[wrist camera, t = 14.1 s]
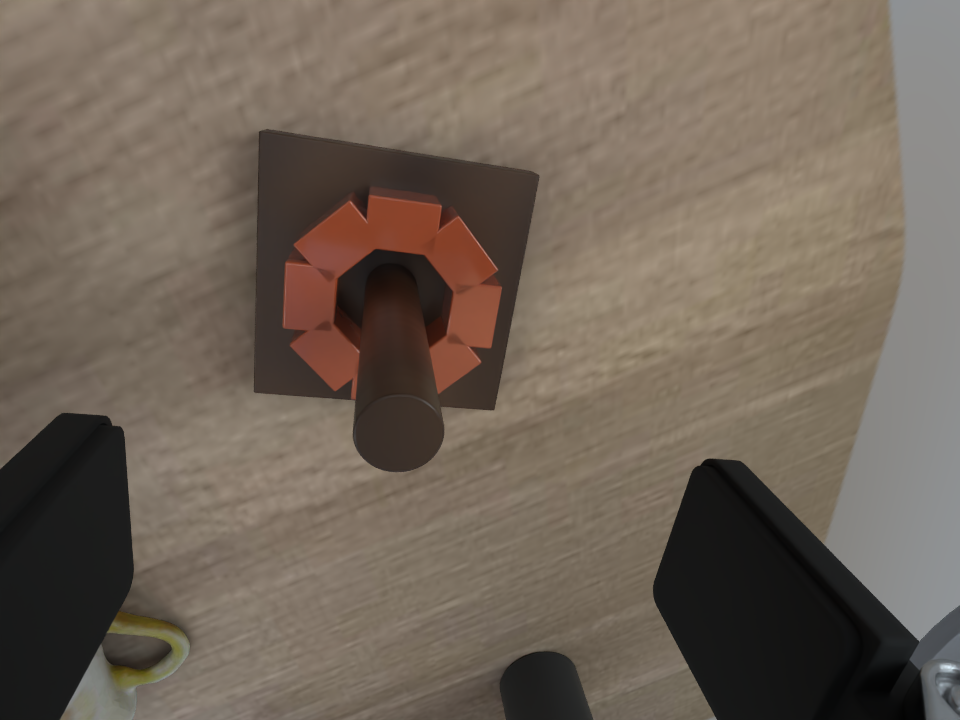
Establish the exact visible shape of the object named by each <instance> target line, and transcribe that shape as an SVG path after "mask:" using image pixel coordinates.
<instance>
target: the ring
mask: <svg viewBox="0 0 960 720" xmlns="http://www.w3.org/2000/svg"><path fill="white" fill-rule="evenodd" d="M441 210H442V205H441V204H440V202H439V200H438V198H437V196H435V195H429V194H422V193H415V192H408V191H401V190H395V189H388V188H381V187H374V186H370V188H369V196H368V207H367V208H366V206H365V205H364V204H363V203H362V201H361V200H360V199H359V198H358V196H357V195H356V194H355V193H354V192H353V191H351V192H350V193H349V194H347V195H346V196H345V197H344V198H342V199H341V200H340V201H339V202H337V203H336V204H335V205H334V206H332V207H331V208H330V209H329V210H327V211H326V212H325V213H324V214H322V215H321V216H320V217H319V218H317V219H316V220H315V221H313V222H312V223H311V224H310V225H308V226H307V227H306V228H305V229H303V230H302V231H301V233H300V235H299V236H298V238H297V240H296V241H295V243H294V247H295V248H293V250H292V252H291V253H290V255H289V257H288V258H287V260H286V262H285V266H284V292H283V318H282V326H283V328H285V329H294V330H295V331H294V334H293V337H292V339H291V342H290V347H291V348H292V349H293V350H294V351H295V352H296V353H297V354H298V355H299V356H300V357H301V358H302V359H303V360H304V361H305V362H306V363H307V364H308V365H309V366H310V367H311V368H312V369H313V370H314V371H315V372H316V373H317V374H318V375H319V376H320V377H321V378H322V379H323V380H324V381H325V382H326V383H327V384H328V385H329V386H330V387H331V388H332V389H333V390H334V391H337V390H338V389H339V388H341V387H342V386H343V385H345V384H346V383H348V382H349V381H350V380H352V387H351V399H356V389H357V377H358V365H359V354H360V342H361V329H360V328H359V327H358V326H357V325H356V324H355V323H354V322H353V321H352V319H351V318H350V317H349V316H348V315H347V314H346V313H345V312H344V311H343V309H342V308H341V307H340V306H339V305H338V304H339V291H340V277H341V276H342V275H343V274H344V273H346V272H347V271H348V270H349V269H351V268H352V267H353V266H355V265H356V264H357V263H358V262H360V261H361V260H362V259H364V258H365V257H366V256H367V255H369V254H370V253H371V252H373V251H374V250H375V249H378V250H386V251H394V252H402V253H410V254H418V255H424V256H425V257H426V258H427V260H428V261H429V262H430V264H431V265H432V266H433V267H434V269H435V270H436V271H437V272H438V274H439V275H440V276H441V277H442V279H443V280H444V281H445V283H446V284H445V291H444V298H443V305H442V312H441V316H440V317H439V318H437V319H436V320H435V321H433V322H432V323H431V324H429V325H428V326H426V327H425V329H426V334H427V339H428V345H429V350H430V355H431V360H432V366H433V371H434V376H435V381H436V386H437V392H438V394H439V393H441V392H442V391H443V390H445V389H446V388H447V387H449V386H450V385H452V384H453V383H454V382H456V381H457V380H459V379H460V378H461V377H463V376H464V375H465V374H467V373H468V372H470V371H471V370H472V369H474V368H475V367H476V366H478V365H479V364H481V359H480V356H479V354H478V351H477V349H476V347H479V348H491V347H492V341H493V336H494V330H495V325H496V319H497V314H498V308H499V303H500V297H501V292H502V286H501V285H500V283H499V282H498V280H497V279H496V277H495V275H494V273H495V272H497V271H498V268H497V267H496V265H495V264H494V262H493V261H492V259H491V258H490V256H489V255H488V254H487V252H486V251H485V249H484V248H483V247H482V245H481V244H480V243H479V241H478V240H477V239H476V237H475V236H474V234H473V233H472V232H471V230H470V229H469V228H468V226H467V225H466V223H465V222H464V221H463V219H462V218H461V217H460V215H459V214H458V213H457V211H456V210H455V208H454V207H453V206H452V205H451V206H449V207H448V208H447V209H445V210H444V211H443V212H441Z"/></svg>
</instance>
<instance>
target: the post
mask: <svg viewBox="0 0 960 720" xmlns="http://www.w3.org/2000/svg"><path fill="white" fill-rule="evenodd" d="M538 181H539V175H538V174H535V173H533V172H531V171H526V170H520V169H514V168H508V167H501V166H495V165H489V164H483V163H476V162H470V161H464V160H457V159H451V158H445V157H439V156H432V155H426V154H420V153H414V152H407V151H401V150H395V149H388V148H382V147H376V146H370V145H363V144H357V143H351V142H345V141H338V140H332V139H326V138H319V137H313V136H307V135H301V134H294V133H288V132H282V131H276V130H269V129H266V130H262V131H260V132H259V166H258V216H257V266H256V316H255V365H254V392H255V393H266V394H279V395H293V396H306V397H320V398H333V399H347V400H355V412H354V424H353V440H354V444H355V447H356V449H357V451H358V452H359V454H360V455H361V456H362V457H363V459H364V460H366V461H367V462H368V463H369V464H371V465H372V466H374V467H376V468H378V469H381V470H384V471H389V472H405V471H410V470H413V469H416V468H418V467H421V466H422V465H424V464H426V463H427V462H428V461H430V460H431V459H432V458H433V457H434V456H435V454H436V453H437V452H438V450H439V449H440V447H441V444H442V442H443V438H444V423H443V418H442V413H441V407H455V408H468V409H482V410H494V409H495V404H496V399H497V394H498V389H499V384H500V378H501V373H502V368H503V363H504V358H505V353H506V347H507V342H508V337H509V332H510V327H511V321H512V316H513V311H514V306H515V301H516V295H517V290H518V285H519V280H520V275H521V269H522V264H523V259H524V254H525V249H526V243H527V238H528V233H529V228H530V223H531V218H532V212H533V207H534V202H535V197H536V192H537V186H538ZM370 186H374V187H381V188H388V189H395V190H401V191H408V192H415V193H422V194H429V195H435V196H437V198H438V200H439V202H440V204H441V205H442V210H441V212H443V211H444V210H445V209H447V208H448V207H449V206H451V205H452V206H453V207H454V208H455V210H456V211H457V213H458V214H459V215H460V217H461V218H462V219H463V221H464V222H465V223H466V225H467V226H468V228H469V229H470V230H471V232H472V233H473V234H474V236H475V237H476V239H477V240H478V241H479V243H480V244H481V245H482V247H483V248H484V249H485V251H486V252H487V254H488V255H489V256H490V258H491V259H492V261H493V262H494V264H495V265H496V267H497V268H498V271H497V272H495V273H494V275H495V277H496V279H497V280H498V282H499V283H500V285H501V286H502V292H501V297H500V303H499V308H498V314H497V319H496V325H495V330H494V336H493V341H492V347H491V348H479V347H476V349H477V351H478V354H479V356H480V359H481V364H479V365H478V366H476V367H475V368H474V369H472V370H471V371H470V372H468V373H467V374H465V375H464V376H463V377H461V378H460V379H459V380H457V381H456V382H454V383H453V384H452V385H450V386H449V387H447V388H446V389H445V390H443V391H442V392H441V393H439V394H438V392H437V386H436V381H435V376H434V371H433V366H432V360H431V355H430V350H429V345H428V339H427V334H426V329H425V327H426V326H428V325H429V324H431V323H432V322H433V321H435V320H436V319H437V318H439V317H440V316H441V312H442V305H443V298H444V291H445V284H446V283H445V281H444V280H443V279H442V277H441V276H440V275H439V274H438V272H437V271H436V270H435V269H434V267H433V266H432V265H431V264H430V262H429V261H428V260H427V258H426V257H425V256H424V255H418V254H410V253H402V252H394V251H386V250H378V249H375V250H374V251H373V252H371V253H370V254H369V255H367V256H366V257H365V258H364V259H362V260H361V261H360V262H358V263H357V264H356V265H355V266H353V267H352V268H351V269H349V270H348V271H347V272H346V273H344V274H343V275H342V276H341V277H340V291H339V304H338V305H339V306H340V307H341V308H342V309H343V311H344V312H345V313H346V314H347V315H348V316H349V317H350V318H351V319H352V321H353V322H354V323H355V324H356V325H357V326H358V327H359V328H360V329H361V342H360V354H359V365H358V377H357V389H356V399H351V387H352V380H350V381H349V382H348V383H346V384H345V385H343V386H342V387H341V388H339V389H338V390H337V391H334V390H333V389H332V388H331V387H330V386H329V385H328V384H327V383H326V382H325V381H324V380H323V379H322V378H321V377H320V376H319V375H318V374H317V373H316V372H315V371H314V370H313V369H312V368H311V367H310V366H309V365H308V364H307V363H306V362H305V361H304V360H303V359H302V358H301V357H300V356H299V355H298V354H297V353H296V352H295V351H294V350H293V349H292V348H291V347H290V342H291V339H292V337H293V334H294V331H295V330H294V329H285V328H283V326H282V318H283V292H284V266H285V262H286V260H287V258H288V257H289V255H290V253H291V252H292V250H293V248H295V247H294V243H295V241H296V240H297V238H298V236H299V235H300V233H301V231H302V230H303V229H305V228H306V227H307V226H308V225H310V224H311V223H312V222H313V221H315V220H316V219H317V218H319V217H320V216H321V215H322V214H324V213H325V212H326V211H327V210H329V209H330V208H331V207H332V206H334V205H335V204H336V203H337V202H339V201H340V200H341V199H342V198H344V197H345V196H346V195H347V194H349V193H350V192H351V191H353V192H354V193H355V194H356V195H357V196H358V198H359V199H360V200H361V201H362V203H363V204H364V205H365V206H366V208H367V207H368V196H369V188H370ZM440 406H441V407H440Z"/></svg>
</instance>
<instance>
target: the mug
mask: <svg viewBox="0 0 960 720" xmlns="http://www.w3.org/2000/svg"><path fill="white" fill-rule="evenodd" d="M107 633H117V634H124V635H137V636H149V637H155V638H159V639H162V640H164V641H166V642H168V643H169V644H170V645H171V648H172V649H171V651H170V652H169V653H168V654H167V655H166V656H165V657H164V658H163V659H161V660H160V661H159V662H158V663H157V664H155V665H153V666H151V667H149V668H146V669H141V670H137V669H133V668H130V667H127V666H121V665H118V666H114V665H112V664H110V663H109V662H108V661H107V659H106V657H105V656H104V652H103V648H102V644H101V645H100V647H99V648H98V650H97V652H96V654H95V656H94V658H93V660H92V661H91V663H90V665H89V667H88V669H87V671H86V673H85V674H84V676H83V678H82V680H81V682H80V684H79V686H78V687H77V689H76V691H75V693H74V695H73V697H72V699H71V700H70V702H69V704H68V706H67V708H66V710H65V712H64V713H63V715H62V717H61V719H60V720H132V719H133V717H134V714H135V710H136V703H137V691H136V687H137V686H140V685H144V684H149V683H155V682H159V681H161V680H163V679H164V678H166V677H168V676H169V675H171V674H172V673H174V672H175V671H176V670H177V669H178V668H179V667H180V665H181V664H182V663H183V662H184V660H185V659H186V658H187V656H188V653H189V649H190V643H189V641H188V639H187V637H186V635H185V634H184V632H183V631H182V630H181V629H180V628H178V627H177V626H175V625H173V624H171V623H169V622H166V621H163V620H158V619H154V618H149V617H143V616H137V615H132V614H129V613H125V612H121V611H118V613H117V615H116V617H115V619H114V621H113V622H112V624H111V626H110V628H109V630H108V632H107Z"/></svg>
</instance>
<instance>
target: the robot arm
mask: <svg viewBox="0 0 960 720" xmlns="http://www.w3.org/2000/svg"><path fill="white" fill-rule="evenodd" d="M133 572H134V565H133V551H132V536H131V522H130V508H129V494H128V479H127V465H126V451H125V437H124V431H123V429H122V428H121V427H120V426H112V423H111V421H110V418H108V417H107V416H102V415H88V414H73V413H62V414H60V415H59V416H57V417H56V418H55V419H54V420H53V421H52V422H51V423H50V424H48V425H47V426H46V427H45V428H44V429H43V430H42V431H41V432H40V433H39V434H38V435H37V436H36V437H35V438H33V439H32V440H31V441H30V442H29V443H28V444H27V445H26V446H25V447H24V448H23V449H22V450H21V451H20V452H18V453H17V454H16V455H15V456H14V457H13V458H12V459H11V460H10V461H9V462H8V463H7V464H6V465H4V466H3V467H2V468H1V469H0V720H60V719H61V717H62V715H63V713H64V712H65V710H66V708H67V706H68V704H69V702H70V700H71V699H72V697H73V695H74V693H75V691H76V689H77V687H78V686H79V684H80V682H81V680H82V678H83V676H84V674H85V673H86V671H87V669H88V667H89V665H90V663H91V661H92V660H93V658H94V656H95V654H96V652H97V650H98V648H99V647H100V645H101V643H102V641H103V639H104V637H105V635H106V634H107V632H108V630H109V628H110V626H111V624H112V622H113V621H114V619H115V617H116V615H117V613H118V611H119V609H120V608H121V606H122V604H123V602H124V600H125V598H126V596H127V594H128V592H129V590H130V587H131V584H132V579H133ZM653 596H654V600H655V603H656V605H657V607H658V609H659V611H660V613H661V615H662V617H663V619H664V621H665V623H666V624H667V626H668V628H669V630H670V632H671V634H672V636H673V638H674V639H675V641H676V643H677V645H678V647H679V649H680V651H681V653H682V655H683V656H684V658H685V660H686V662H687V664H688V666H689V668H690V670H691V672H692V673H693V675H694V677H695V679H696V681H697V683H698V685H699V687H700V688H701V690H702V692H703V694H704V696H705V698H706V700H707V702H708V704H709V705H710V707H711V709H712V711H713V713H714V715H715V717H716V719H717V720H960V662H958V661H953V660H947V659H934V660H930V661H928V662H927V663H925V664H924V665H923V666H922V668H921V669H920V670H919V669H918V668H917V667H916V666H915V665H914V664H913V663H912V662H911V661H910V660H909V659H910V658H911V656H912V654H913V653H914V651H915V649H916V647H917V646H918V644H919V641H918V640H917V639H916V638H915V637H914V636H913V635H912V634H911V633H910V632H909V631H908V630H907V629H906V628H905V627H904V626H903V625H902V624H901V623H900V622H899V621H898V620H897V619H896V617H894V615H893V614H892V613H890V611H888V609H887V608H886V607H885V606H884V605H883V604H882V603H881V602H880V601H879V600H878V599H877V598H876V597H875V596H874V595H873V594H872V593H871V592H870V591H869V590H868V589H867V588H866V587H865V586H864V585H863V584H862V583H861V582H860V581H859V580H858V579H857V578H856V577H855V576H854V575H853V574H852V573H851V572H850V571H849V570H848V569H847V568H846V567H845V566H844V565H843V564H842V563H841V562H840V561H839V560H838V559H837V558H836V557H835V556H834V555H833V554H832V552H830V551H829V549H827V547H826V546H825V545H824V544H823V543H822V542H821V541H820V540H819V539H818V538H817V537H816V536H815V535H814V534H813V533H812V532H811V531H810V530H809V529H808V528H807V527H806V526H805V525H804V524H803V523H802V522H801V521H800V520H799V519H798V518H797V517H796V516H795V515H794V514H793V513H792V512H791V511H790V510H789V509H788V508H787V507H786V506H785V505H784V504H783V503H782V502H781V501H780V500H779V499H778V498H777V497H776V496H775V495H774V494H773V493H772V492H771V491H770V490H769V489H768V487H767V486H766V485H765V484H764V483H763V482H762V481H761V480H760V479H759V478H758V477H757V476H756V475H755V474H754V473H753V472H752V471H751V470H750V469H749V468H748V467H747V466H746V465H745V464H744V463H742V462H741V461H736V460H723V459H706V460H705V461H704V462H703V463H702V464H701V466H697V467H695V468H694V469H693V471H692V473H691V476H690V479H689V482H688V484H687V487H686V490H685V493H684V496H683V499H682V502H681V505H680V508H679V511H678V514H677V517H676V519H675V522H674V525H673V528H672V531H671V534H670V537H669V540H668V543H667V546H666V549H665V551H664V554H663V557H662V560H661V563H660V566H659V569H658V572H657V575H656V578H655V581H654V585H653Z"/></svg>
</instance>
